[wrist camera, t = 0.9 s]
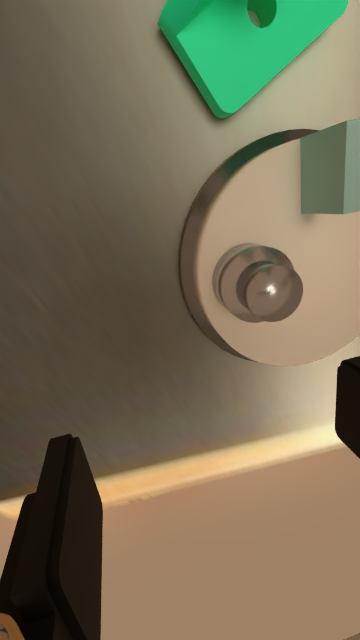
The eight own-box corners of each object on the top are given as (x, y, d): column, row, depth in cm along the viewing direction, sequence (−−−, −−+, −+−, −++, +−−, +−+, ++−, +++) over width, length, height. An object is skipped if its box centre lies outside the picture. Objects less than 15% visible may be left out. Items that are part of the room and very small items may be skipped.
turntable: (394, 126, 27) (490, 99, 20) (376, 331, 34) (442, 361, 28) (175, 160, 24) (201, 141, 17) (207, 375, 32) (234, 421, 25)
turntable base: (393, 116, 28) (402, 113, 27) (374, 333, 36) (381, 336, 35) (158, 150, 25) (160, 148, 24) (196, 379, 33) (198, 384, 32)
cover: (276, 236, 26) (316, 243, 21) (278, 303, 28) (315, 324, 23) (207, 250, 25) (232, 260, 20) (216, 318, 27) (240, 343, 22)
